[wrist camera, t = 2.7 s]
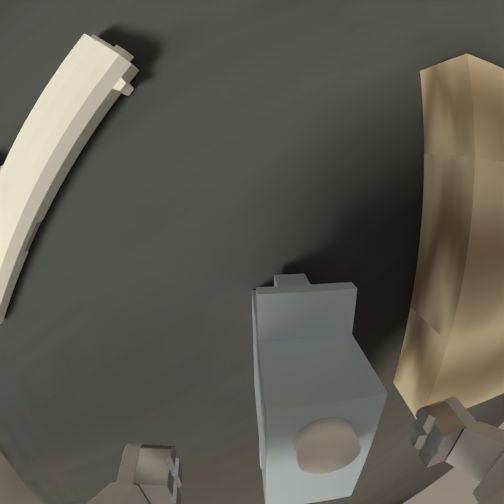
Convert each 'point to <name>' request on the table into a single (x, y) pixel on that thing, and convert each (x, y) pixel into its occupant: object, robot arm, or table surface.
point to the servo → (311, 390)
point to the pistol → (55, 145)
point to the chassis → (458, 241)
